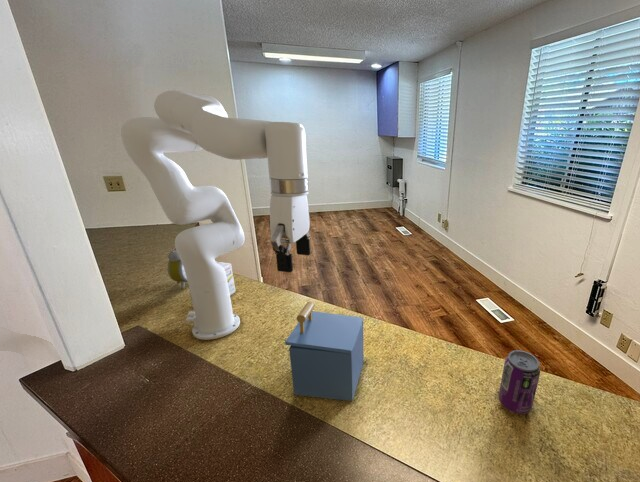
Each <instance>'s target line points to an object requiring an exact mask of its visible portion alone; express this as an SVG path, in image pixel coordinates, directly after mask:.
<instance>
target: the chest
mask: <svg viewBox="0 0 640 482" xmlns="http://www.w3.org/2000/svg"><path fill="white" fill-rule="evenodd" d="M288 352H289V360H290V368H291V379H292V388H293V395H295V396H304V397H311V398H312V397H313V398H320V399H321V398H322V399H330V400H340V401H348V402H349V401H350V402H353V401H354V397H355V394H356V391H357V386H358V383H359V380H360V376H361V374H362V369H363V367H364V363H365V362H364V361H365V360H364V321H363V322H362V325H361V328H360V331H359V333H358V336H357V339H356V342H355V345H354V348H353V350H352V353H351V354H350V353H343V352H335V351H328V350H320V349H313V348H305V347H298V346H290V345H289V347H288Z"/></svg>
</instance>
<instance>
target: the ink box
mask: <svg viewBox="0 0 640 482" xmlns="http://www.w3.org/2000/svg"><path fill="white" fill-rule="evenodd" d="M216 262H217V263H218V264H220V265H221V266H222V267H223V268H224V270H225V272H226V276H227V282H228V287H229V293H230V296H231V295H234V293H236V286H235V279H234V274H233V267H232V263H230V262H222V261H216Z"/></svg>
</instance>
